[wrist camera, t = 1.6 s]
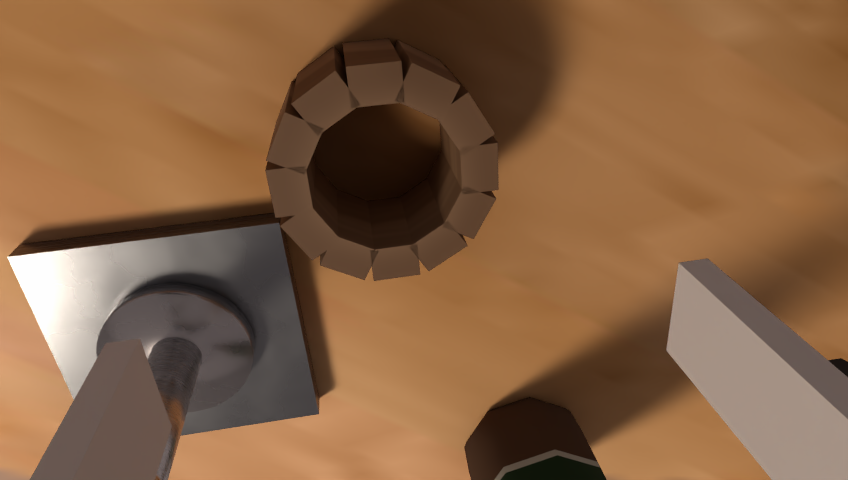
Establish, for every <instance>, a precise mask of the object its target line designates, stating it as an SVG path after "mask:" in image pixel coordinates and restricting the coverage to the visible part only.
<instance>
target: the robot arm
mask: <svg viewBox="0 0 848 480" xmlns="http://www.w3.org/2000/svg"><path fill="white" fill-rule="evenodd" d="M666 351H667V352H668V353H669V354H670V356H671V357H672V358H673V359H674V360H675V362H676V363H677V364H678V365H679V367H680V368H681V369H682V370H683V371H684V373H685V374H686V375H687V376H688V378H689V379H690V380H691V381H692V382H693V384H694V385H695V386H696V387H697V389H698V390H699V391H700V392H701V393H702V395H703V396H704V397H705V398H706V400H707V401H708V402H709V403H710V404H711V406H712V407H713V408H714V409H715V411H716V412H717V413H718V414H719V415H720V417H721V418H722V419H723V420H724V422H725V423H726V424H727V425H728V426H729V428H730V429H731V430H732V431H733V433H734V434H735V435H736V436H737V437H738V439H739V440H740V441H741V442H742V444H743V445H744V446H745V447H746V448H747V450H748V451H749V452H750V453H751V455H752V456H753V457H754V458H755V459H756V461H757V462H758V463H759V464H760V466H761V467H762V468H763V469H764V470H765V472H766V473H767V474H768V475H769V477H770V478H771V479H772V480H848V362H847V361H845V360H843V359H841V358H840V359H834V360H827V359H826V358H824V357H823V356H822V355H821V354H820V353H819V352H817V351H816V350H815V349H814V348H813V347H811V346H810V345H809V344H808V343H807V342H806V341H804V340H803V339H802V338H801V337H800V336H798V335H797V334H796V333H795V332H794V331H793V330H791V329H790V328H789V327H788V326H787V325H785V324H784V323H783V322H782V321H781V320H780V319H778V318H777V317H776V316H775V315H774V314H772V313H771V312H770V311H769V310H768V309H767V308H765V307H764V306H763V305H762V304H761V303H759V302H758V301H757V300H756V299H755V298H754V297H752V296H751V295H750V294H749V293H748V292H746V291H745V290H744V289H743V288H742V287H741V286H739V285H738V284H737V283H736V282H735V281H733V280H732V279H731V278H730V277H729V276H728V275H726V274H725V273H724V272H723V271H722V270H720V269H719V268H718V267H717V266H716V265H715V264H713V263H712V262H711V261H710V260H709V259H702V260H695V261H687V262H680V263H679V265H678V272H677V279H676V286H675V293H674V300H673V307H672V314H671V321H670V328H669V335H668V342H667V349H666ZM171 428H172V426H171V423H170V420H169V417H168V415H167V412H166V409H165V406H164V404H163V401H162V398H161V395H160V393H159V390H158V387H157V384H156V382H155V379H154V376H153V373H152V371H151V368H150V365H149V362H148V360H147V357H146V354H145V351H144V349H143V346H142V343H141V340H140V338H139V339H132V340H125V341H118V342H111V343H105V345H104V347H103V349H102V350H101V352H100V354H99V356H98V358H97V359H96V361H95V363H94V365H93V367H92V368H91V370H90V372H89V374H88V376H87V377H86V379H85V381H84V383H83V385H82V386H81V388H80V390H79V392H78V394H77V395H76V397H75V399H74V401H73V403H72V405H71V406H70V408H69V410H68V412H67V414H66V415H65V417H64V419H63V421H62V423H61V424H60V426H59V428H58V430H57V432H56V433H55V435H54V437H53V439H52V441H51V442H50V444H49V446H48V448H47V450H46V451H45V453H44V455H43V457H42V459H41V460H40V462H39V464H38V466H37V468H36V470H35V471H34V473H33V475H32V477H31V479H30V480H155V478H156V475H157V471H158V468H159V465H160V462H161V459H162V456H163V453H164V450H165V447H166V444H167V440H168V437H169V434H170V431H171Z"/></svg>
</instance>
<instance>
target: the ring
mask: <svg viewBox="0 0 848 480" xmlns="http://www.w3.org/2000/svg"><path fill="white" fill-rule="evenodd" d="M343 51H344V58H345V61H344V59H343V58H342V57H341V55H340V54H339V53H338V51H337V50H336V48H335V47H332V48H331V49H330V50H328V51H327V52H326V53H324V54H323V55H322V56H320V57H319V58H318V59H316V60H315V61H314V62H312V63H311V64H310V65H308V66H307V67H306V68H305V69H303V70H302V71H301V72H299V73H298V74H297V78H296V83H295V82H293V81H292V82H291V85H290V87H289V90H288V93H287V95H286V98H285V101H284V103H283V106H282V108H281V111H280V114H279V116H278V119H277V122H276V125H275V129H274V133H273V137H272V140H271V144H270V148H269V152H268V156H267V159H266V161H268V162H267V166H266V170H265V171H266V175H267V180H268V185H269V189H270V194H271V199H272V204H273V208H274V213H275V218H278V217H281V223H280V227H281V228H282V229H283V230H284V231H285V232H286V233H287V234H288V235H289V236H290V237H291V238H292V239H293V241H294V242H295V243H296V244H297V245H298V246H299V247H300V248H301V249H302V250H303V251H304V252H305V253H306V254H307V255H308V256H309V257H310V259H311V260H314V259H315V258H316V257H318V256H319V255H320V265H321V266H324V267H327V268H330V269H333V270H336V271H339V272H342V273H345V274H348V275H351V276H354V277H357V278H360V279H363V280H365V278H366V276H367V274H368V272H369V270H370V268H371V266H372V271H373V278H374V281H377V280H384V279H391V278H398V277H406V276H413V275H420V267H419V260H420V261H421V262H422V264H423V265H424V266H425V267H426V269H427V270H428V271H430V270H431V269H433V268H434V267H436V266H437V265H439V264H441V263H442V262H444V261H445V260H447V259H448V258H450V257H451V256H453V255H454V254H456V253H457V252H459V251H460V250H462V249H463V248H465V247H466V246H467V244H466V241H465V239H464V237H463V235H464V236H467V237H470V238H472V239H474V238H475V236H476V234H477V232H478V230H479V229H480V227H481V225H482V223H483V221H484V220H485V218H486V216H487V214H488V212H489V211H490V209H491V207H492V205H493V204H494V202H495V200H496V198H495V196H494V194H493V193H492V191H493V190H498V143H497V141H496V140H495V139H494V137H493V135H494V134H495V133H494V131H493V130H492V128H491V127H490V125H489V123H488V122H487V120H486V119H485V117H484V116H483V114H482V113H481V111H480V110H479V108H478V106H477V105H476V103H475V102H474V100H473V99H472V97H471V96H470V94H469V92H468V91H467V90H466V89H465V88H464V87H463V85H462V84H461V83H460V82H459V81H458V80H457V78H456V77H455V76H454V75H453V74H452V73H451V71H450V70H449V69H448V68H447V67H446V66H444V65H443V64H442V63H441V62H440V61H439V59H437V58H435V57H432V56H430V55H428V54H426V53H424V52H422V51H420V50H418V49H416V48H414V47H412V46H409V45H407V44H405V43H403V42H401V41H399V40H397V43H396V45H395V47H393V45H392V43H391V41H390V40H389V38H387V39H377V40H367V41H357V42H347V43H343ZM394 103H401V104H404V105H406V106H408V107H410V108H413V109H415V110H417V111H419V112H422V113H424V114H426V115H428V116H431V117H433V118H435V119H437V120H439V122H440V135H441V151H440V153H439V155H438V157H437V159H436V161H435V163H434V165H433V167H432V169H431V171H430V173H429V175H428V177H427V179H425V180H424V181H423V182H421V183H420V184H418V185H417V186H415V187H414V188H412V189H411V190H410V191H408V192H407V193H405V194H404V195H402V196H401V197H397V198H389V199H381V200H373V201H365V200H363V199H360V198H357V197H355V196H352V195H350V194H347V193H344V192H342V191H339V190H336V188H335V187H334V186H333V185H332V184H331V182H330V181H329V180H328V179H327V178H326V177H325V175H324V174H323V173H322V172H321V171H320V169H319V168H318V167H317V166H316V165H315V160H314V154H313V153H314V151H315V148H316V146H317V143H318V141H319V138H320V136H321V134H322V132H324V131H325V130H326V129H328V128H329V127H331V126H332V125H333V124H335V123H336V122H337V121H339V120H340V119H342V118H343V117H344V116H346V115H347V114H348V113H350V112H351V111H352V110H354V109H355V108H357V107H366V106H375V105H385V104H394Z"/></svg>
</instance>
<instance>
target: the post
mask: <svg viewBox="0 0 848 480" xmlns="http://www.w3.org/2000/svg"><path fill="white" fill-rule="evenodd" d="M280 223H281V217H278V218H275V213H269V214H261V215H253V216H245V217H237V218H229V219H221V220H213V221H205V222H197V223H189V224H181V225H173V226H165V227H157V228H149V229H141V230H133V231H125V232H117V233H109V234H101V235H93V236H85V237H77V238H69V239H61V240H53V241H45V242H37V243H29V244H21V245H19V246H18V247H17V248H16V249H15V250H14V251H13V252H12V253H11V254H10V255H9V256H8V259H9V261H10V264H11V266H12V268H13V270H14V272H15V274H16V276H17V279H18V281H19V283H20V285H21V287H22V289H23V291H24V294H25V296H26V298H27V300H28V302H29V304H30V307H31V309H32V311H33V313H34V315H35V317H36V319H37V322H38V324H39V326H40V328H41V330H42V332H43V334H44V337H45V339H46V341H47V343H48V345H49V347H50V349H51V352H52V354H53V356H54V358H55V360H56V362H57V365H58V367H59V369H60V371H61V373H62V375H63V377H64V380H65V382H66V384H67V386H68V388H69V390H70V392H71V395H72V397H73V399H75V397H76V395H77V394H78V392H79V390H80V388H81V386H82V385H83V383H84V381H85V379H86V377H87V376H88V374H89V372H90V370H91V368H92V367H93V365H94V363H95V361H96V359H97V358H98V356H99V354H100V352H101V350H102V349H103V347H104V345H105V343H111V342H118V341H125V340H132V339H139V338H140V340H141V343H142V346H143V349H144V351H145V354H146V357H147V360H148V362H149V365H150V368H151V371H152V373H153V376H154V379H155V382H156V384H157V387H158V390H159V393H160V395H161V398H162V401H163V404H164V406H165V409H166V412H167V415H168V417H169V420H170V423H171V426H172V428H171V431H170V434H169V437H168V440H167V444H166V447H165V450H164V453H163V456H162V459H161V462H160V465H159V468H158V471H157V475H156V478H155V480H168V477H169V473H170V470H171V466H172V463H173V460H174V456H175V453H176V449H177V446H178V442H179V439H180V436H181V435H188V434H194V433H201V432H207V431H213V430H220V429H226V428H232V427H239V426H245V425H252V424H258V423H264V422H271V421H277V420H283V419H290V418H296V417H303V416H309V415H315V414H319V395H318V390H317V385H316V381H315V376H314V371H313V366H312V361H311V356H310V351H309V347H308V342H307V337H306V332H305V327H304V322H303V317H302V313H301V308H300V303H299V298H298V293H297V288H296V283H295V279H294V274H293V269H292V264H291V259H290V254H289V249H288V245H287V240H286V235H285V231H284V230H283V229H282V228H281V227H280Z"/></svg>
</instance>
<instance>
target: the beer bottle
mask: <svg viewBox="0 0 848 480" xmlns="http://www.w3.org/2000/svg"><path fill="white" fill-rule="evenodd" d="M465 453H466V458H467V463H468V469H469V473H470V477H471V480H606V478H605V476H604V474H603V472H602V470H601V468H600V466H599V464H598V462H597V460H596V458H595V456H594V454H593V452H592V450H591V448H590V446H589V444H588V442H587V440H586V438H585V436H584V434H583V432H582V430H581V429H580V427H579V425H578V424H577V422H576V420H575V419H574V417H573V415H572V414H571V412H570V411H569V410H567V409H565V408H562V407H559V406H556V405H553V404H550V403H546V402H543V401H540V400H537V399H534V398H531V397H529V398H526V399H523V400H520V401H517V402H514V403H511V404H508V405H505V406H503V407H500V408H497V409H494V410H491V411H488V412H487V413H486V415H485V416H484V418H483V419H482V420H481V422H480V423H479V425H478V426H477V428H476V429H475V431H474V432H473V434H472V435H471V436H470V438H469V439H468V441H467V442H466V445H465Z"/></svg>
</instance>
